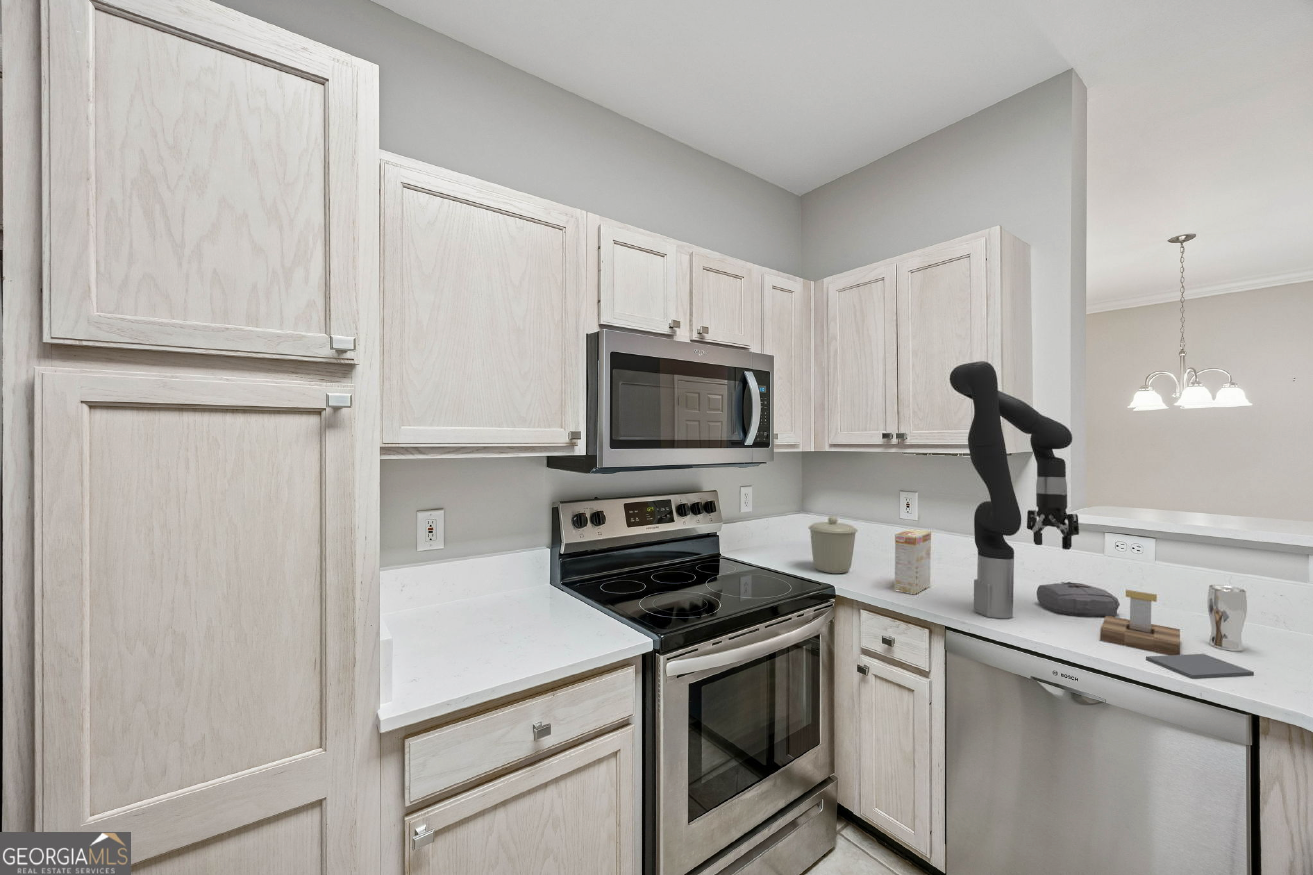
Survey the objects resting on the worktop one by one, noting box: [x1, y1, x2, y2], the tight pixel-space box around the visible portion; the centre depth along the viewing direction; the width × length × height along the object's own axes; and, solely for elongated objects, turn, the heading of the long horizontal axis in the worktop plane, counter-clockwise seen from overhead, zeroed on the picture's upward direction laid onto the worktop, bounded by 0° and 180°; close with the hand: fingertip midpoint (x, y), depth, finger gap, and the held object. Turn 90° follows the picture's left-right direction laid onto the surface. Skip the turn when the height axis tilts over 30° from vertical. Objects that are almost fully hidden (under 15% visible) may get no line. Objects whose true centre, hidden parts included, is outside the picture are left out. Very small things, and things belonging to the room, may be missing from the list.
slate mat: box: [1145, 653, 1255, 680], centre depth 126 cm, size 16×10×1 cm, turn 97°
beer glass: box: [1206, 584, 1248, 653], centre depth 139 cm, size 7×7×15 cm
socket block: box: [1099, 616, 1181, 656], centre depth 143 cm, size 15×15×3 cm
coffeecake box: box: [894, 528, 932, 595], centre depth 188 cm, size 15×7×20 cm, turn 134°
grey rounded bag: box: [1036, 581, 1121, 618], centre depth 167 cm, size 15×8×20 cm
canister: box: [808, 515, 859, 574], centre depth 212 cm, size 18×18×21 cm
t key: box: [1125, 589, 1158, 634], centre depth 143 cm, size 6×4×13 cm, turn 46°
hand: (1052, 547), depth 163 cm, fingers open, 8 cm apart
